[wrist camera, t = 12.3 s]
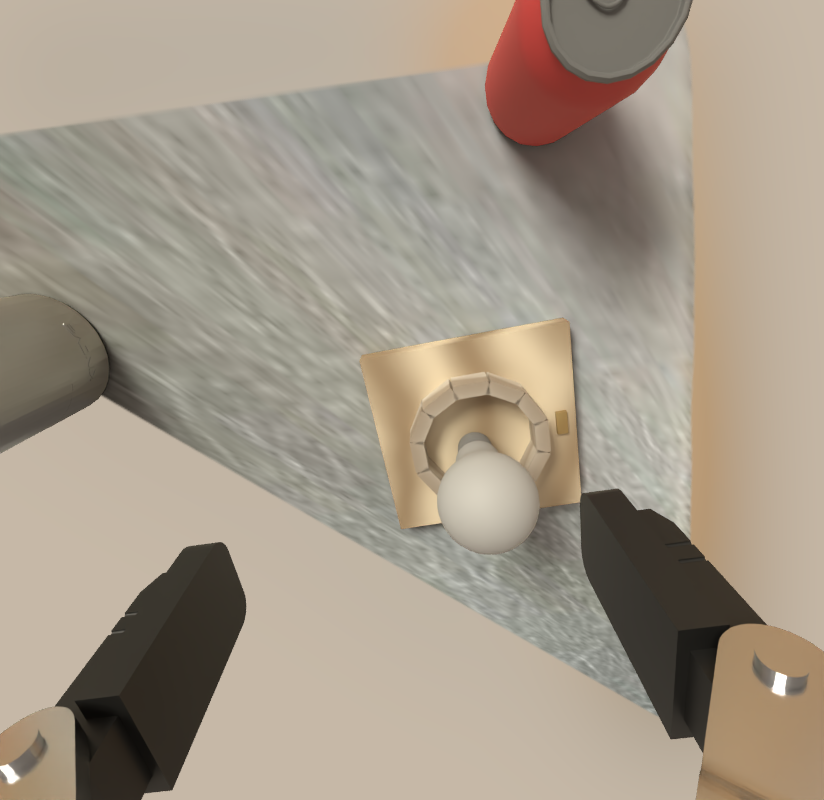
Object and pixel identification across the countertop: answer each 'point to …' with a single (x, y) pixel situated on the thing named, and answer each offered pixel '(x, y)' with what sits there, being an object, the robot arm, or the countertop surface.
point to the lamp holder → (476, 411)
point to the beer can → (574, 61)
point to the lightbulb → (487, 498)
